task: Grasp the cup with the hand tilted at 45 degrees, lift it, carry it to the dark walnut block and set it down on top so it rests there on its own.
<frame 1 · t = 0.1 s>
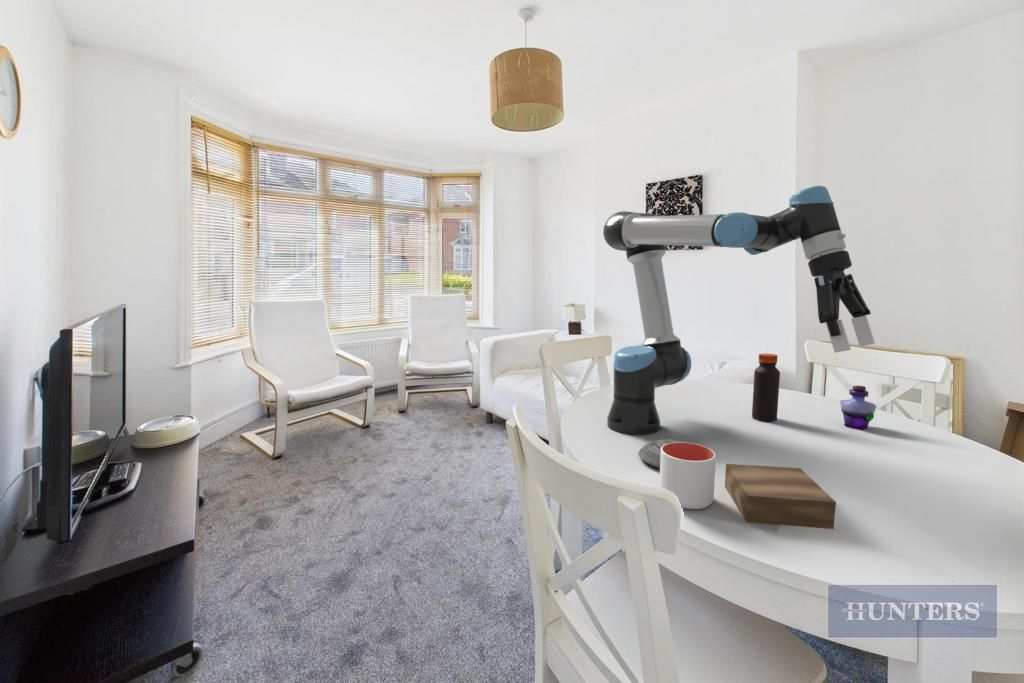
hand: (855, 348, 96), 28 cm above the table, tool tilted 20°, fingers open, 13 cm apart
cup: (685, 500, 88), on the table
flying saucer: (670, 463, 107), on the table
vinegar: (764, 419, 137), on the table
potion bottle: (855, 427, 129), on the table
walnut block: (774, 505, 85), on the table
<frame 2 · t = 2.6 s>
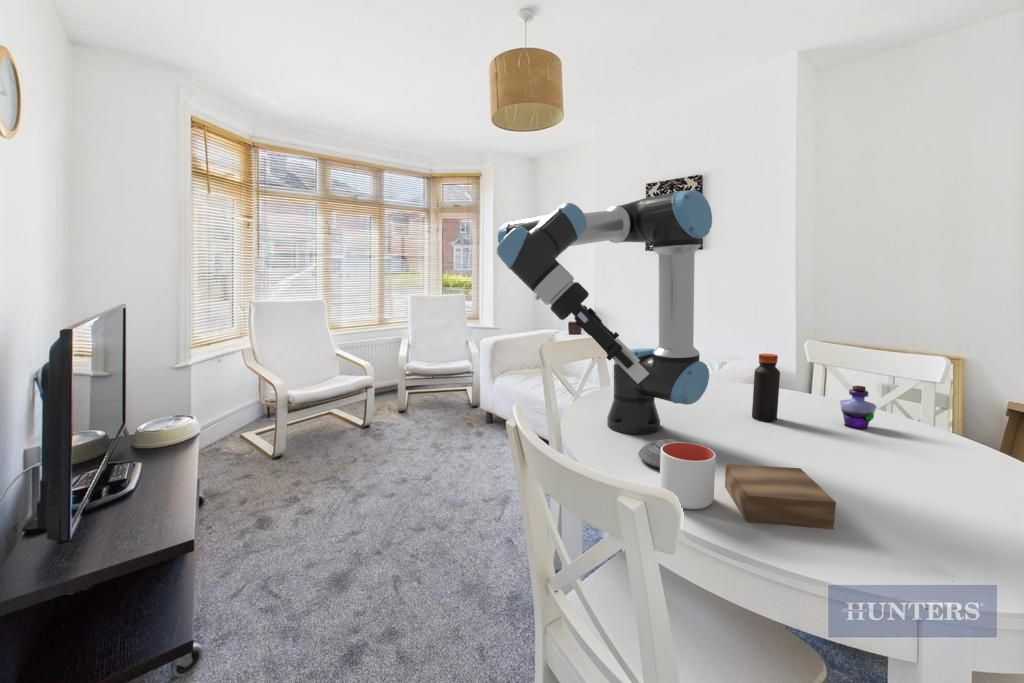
hand: (639, 371, 87), 26 cm above the table, tool tilted 45°, fingers open, 13 cm apart
nothing on the table moved.
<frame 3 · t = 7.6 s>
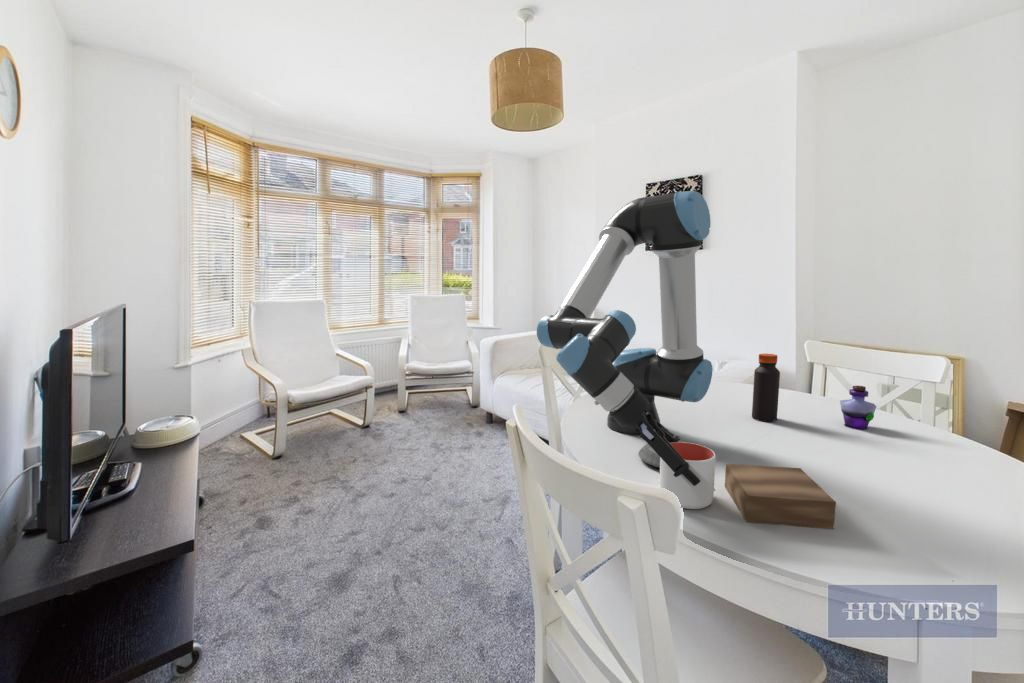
hand: (702, 481, 87), 4 cm above the table, tool tilted 45°, fingers closed on cup, 10 cm apart
cup: (685, 500, 88), on the table, touching gripper
everything else where it was.
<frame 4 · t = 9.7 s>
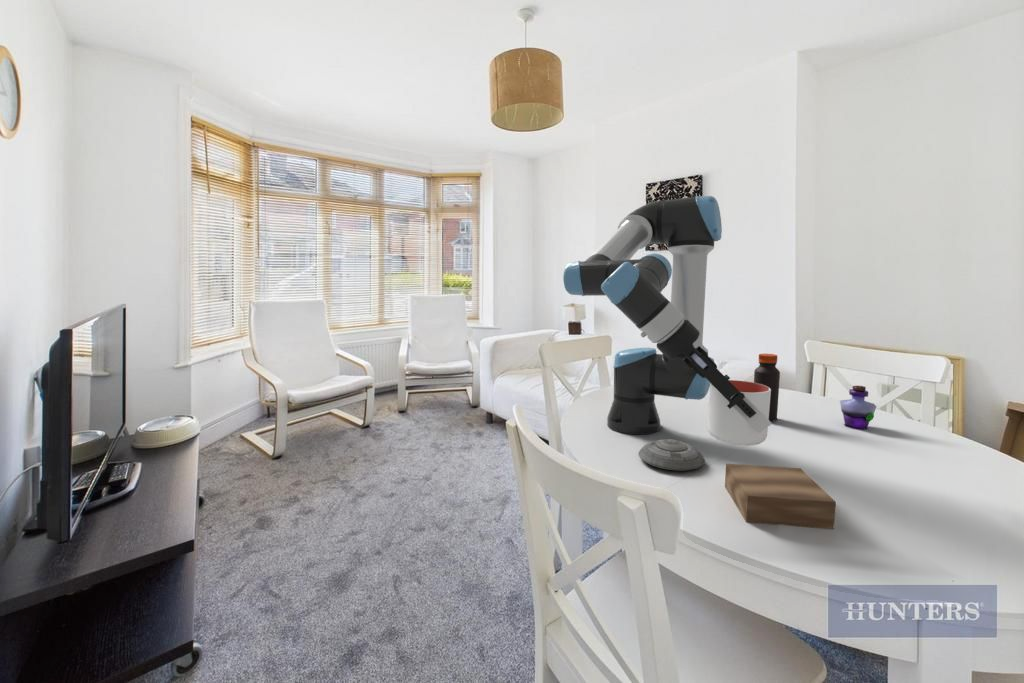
hand: (755, 418, 82), 18 cm above the table, tool tilted 45°, fingers closed on cup, 10 cm apart
cup: (735, 439, 83), point 13 cm above the table, touching gripper
everything else where it was.
when the fingers open (10 cm above the table, at t = 12.1 s): cup drops 1 cm, resting on walnut block.
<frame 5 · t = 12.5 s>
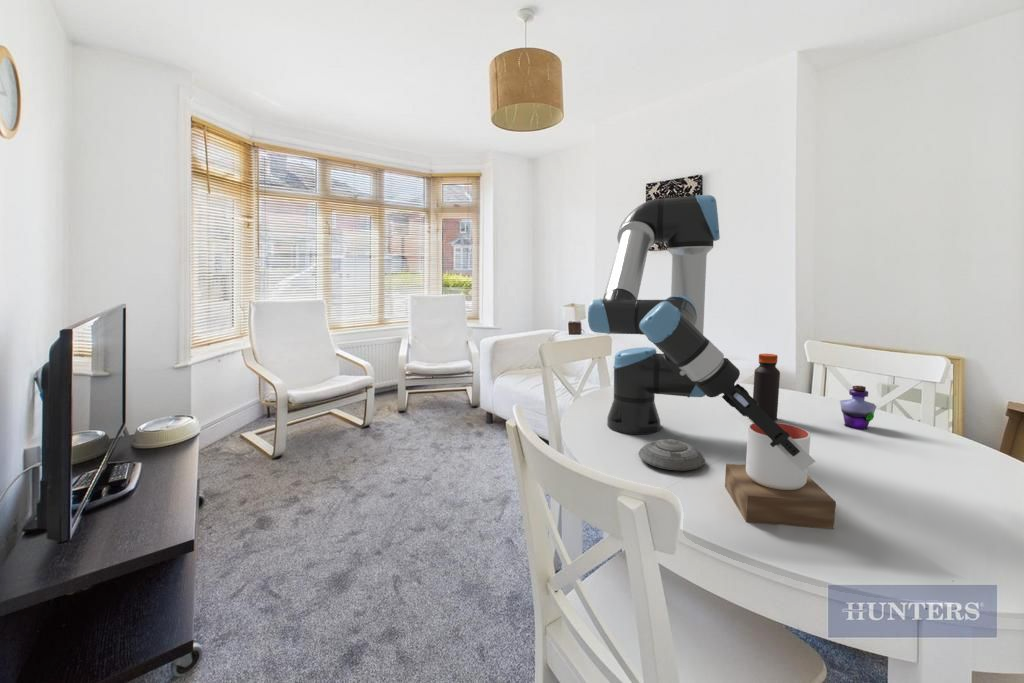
hand: (791, 450, 83), 11 cm above the table, tool tilted 45°, fingers open, 13 cm apart
cup: (774, 481, 85), point 5 cm above the table, touching walnut block
everything else where it was.
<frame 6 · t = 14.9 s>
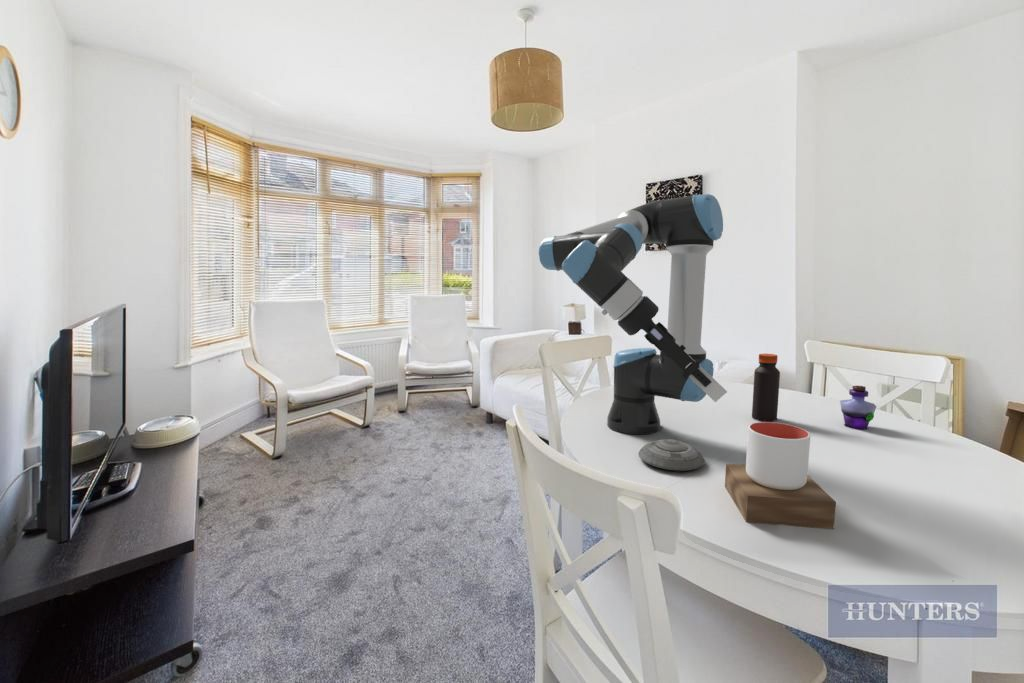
hand: (711, 386, 84), 23 cm above the table, tool tilted 45°, fingers open, 13 cm apart
nothing on the table moved.
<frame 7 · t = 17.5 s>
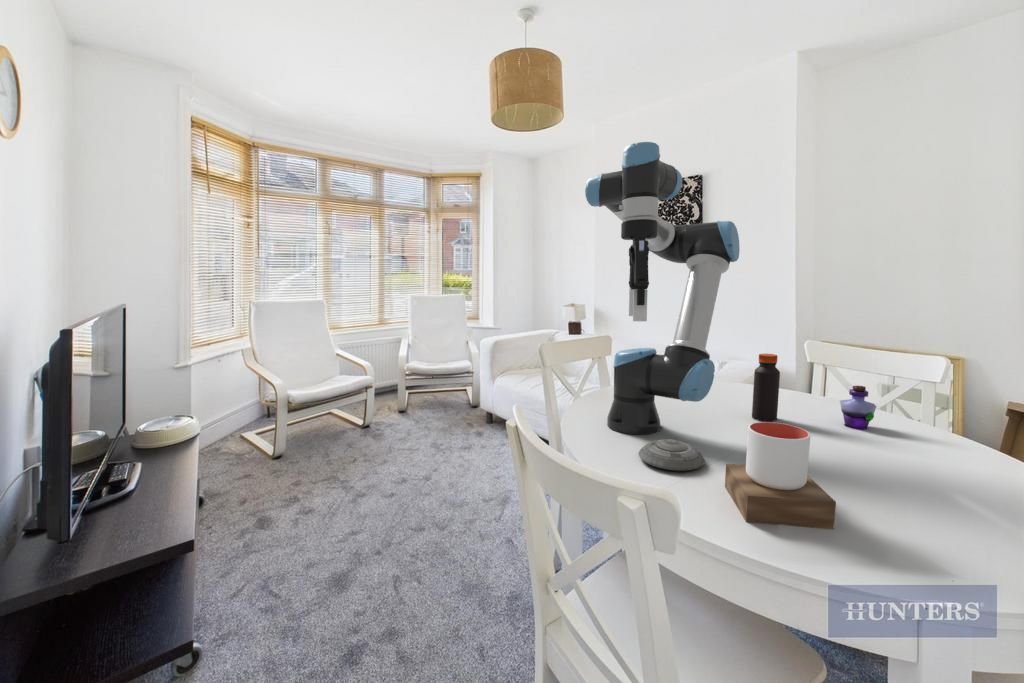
hand: (637, 318, 99), 35 cm above the table, tool pointing down, fingers open, 13 cm apart
nothing on the table moved.
at the end: cup inside the target area on the walnut block (0.1 cm from its centre), point 4.8 cm above the walnut block's base; cup tilted 0°; the gripper is holding nothing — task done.
